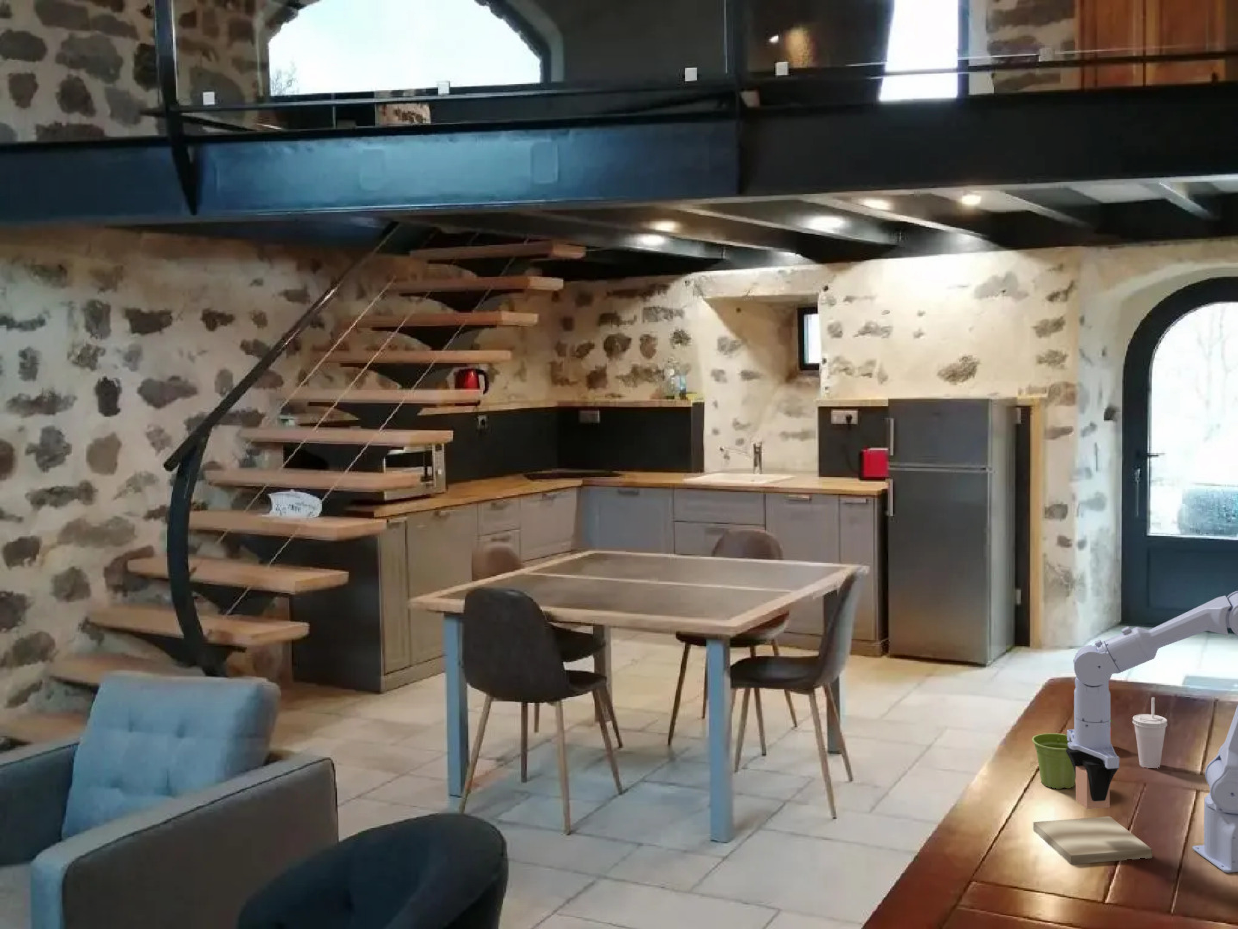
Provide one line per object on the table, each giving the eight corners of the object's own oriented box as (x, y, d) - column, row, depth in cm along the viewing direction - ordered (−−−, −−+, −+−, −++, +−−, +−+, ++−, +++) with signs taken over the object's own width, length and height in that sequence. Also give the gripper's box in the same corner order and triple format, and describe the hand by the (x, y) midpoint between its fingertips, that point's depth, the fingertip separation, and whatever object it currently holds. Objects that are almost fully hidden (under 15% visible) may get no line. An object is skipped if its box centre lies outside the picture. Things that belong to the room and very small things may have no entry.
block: (1109, 807, 198) (1109, 773, 198) (1086, 809, 198) (1086, 774, 197) (1098, 798, 202) (1098, 764, 202) (1075, 800, 202) (1075, 766, 201)
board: (1152, 858, 194) (1152, 849, 194) (1070, 864, 193) (1070, 855, 193) (1109, 824, 208) (1109, 816, 208) (1033, 830, 207) (1033, 822, 207)
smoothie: (1170, 771, 232) (1171, 702, 230) (1136, 770, 233) (1136, 702, 232) (1162, 760, 238) (1163, 693, 237) (1129, 759, 239) (1129, 692, 238)
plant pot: (1042, 772, 234) (1042, 729, 234) (1090, 781, 228) (1090, 738, 228) (1025, 786, 227) (1024, 743, 226) (1074, 796, 221) (1074, 752, 220)
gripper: (1050, 706, 206) (1050, 781, 207) (1090, 732, 191) (1089, 813, 192) (1089, 704, 206) (1088, 778, 207) (1131, 730, 192) (1131, 810, 193)
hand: (1092, 795), depth 200 cm, fingers closed on block, 4 cm apart
